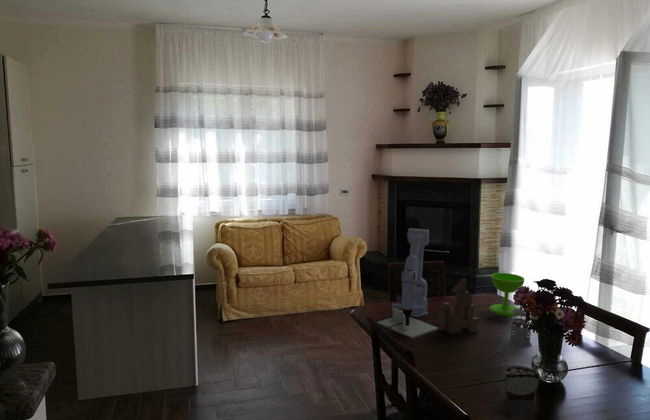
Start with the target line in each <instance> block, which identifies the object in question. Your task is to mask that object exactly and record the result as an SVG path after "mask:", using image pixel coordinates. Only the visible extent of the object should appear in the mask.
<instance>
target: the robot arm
mask: <svg viewBox="0 0 650 420" xmlns="http://www.w3.org/2000/svg"><path fill="white" fill-rule="evenodd" d="M406 234H407V237H406V238H407V241H408V243H409V244H410V249H409V256H407V257H406V260H405V264H404V269H403V270H402V271H401V276H400V277H401V278H400V279H401V289H402V291H401V292H402V293H401V303H398V302H397V303H394V302H393V303H392V304H391V309H392V310H393V309H394V308H395V309H398V310H402V311H403V313H404V315H405V317H406V326H409V317H413V318H419V317H423V316H426V315H429V312H428V305H429V304H428V298H427V294H428V282H427V280H426V279H424V278H423V265H424V264H423V263H424V248H425V246H428V245H429V241H430V240H429V239H430V231H429V229H428V228H427V229H425V228H424V229H421V228H413V227H409V228H408V229H407V233H406Z"/></svg>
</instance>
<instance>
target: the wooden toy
mask: <svg viewBox="0 0 650 420" xmlns="http://www.w3.org/2000/svg"><path fill="white" fill-rule="evenodd" d="M450 292H451V293H452V294H455V302H454V303H455V306H454V308H453V309H452V310H451V311H450V307H451V306H450V302H446V301H445V302H442V306H441V307H442V308H441V309H442V310H441V323H440V324H441V326H440V328H441V329H440V330H442V331H443V332H447V333H449V334H450V335H453V334H458V333H459V330H460V329H461V328H462V327H463V328H464V329H465V330H467V331H468V332H470V333H477V332H478V328H479V326H478V325H479V318H478V317H476V316H475V313H474V312H475V311H474V309H475V305H474V304H472V301H473V297H472V294H471V293H470V292H469V291H467V279H466V278H465V277H462V279H461V280H460V281H459V282H458V283H457V284H456V285H455V286H454V287H453V288H452V289H451V290H450Z"/></svg>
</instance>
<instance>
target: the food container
mask: <svg viewBox="0 0 650 420" xmlns="http://www.w3.org/2000/svg"><path fill="white" fill-rule="evenodd" d="M502 379H503V380H504V389H505V401H506V402H507V403H508V402H509V403H510V402H512V403H513V402H514V403H515V402H517V403H518V402H519V403H520V402H522V403H523V402H524V403H525V402H526V403H527V402H529V403H532V402H533V403H534V402H535V401H536V396H537V390H538V385H539V380H541V379H542V377H541V375H540V372H538V371H537V370H535V369H532V368H531V367H526V366H522V365H511V366H508V367H506V368H504V371H503V373H502Z"/></svg>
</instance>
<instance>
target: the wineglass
mask: <svg viewBox="0 0 650 420" xmlns="http://www.w3.org/2000/svg"><path fill="white" fill-rule="evenodd" d="M491 282H492V284H493V286H494V287H495V288H496V290H498V291H500V292H502V293H504V296H503V297H504V298H503V303H501V304H500V303H498V304H496V303H495V304H492V305H490V306H489V308H488V310H489V311H490V312H491V313H493V314H495V315H498V316H502V317H519V316H518V315H515V314H514V313H513V312H512V311H513V310H514V309H517V308H518V307H516V306H514V305H510V304H509V294H512V293H515V292H517V291H518V290H517V288H518V287H521V286H522V287H523V285H524V283H525V278H524V277H523V276H521V275H518V274H515V273H508V272H495V273H492V274H491ZM522 287H521V288H522ZM516 290H517V291H516Z"/></svg>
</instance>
